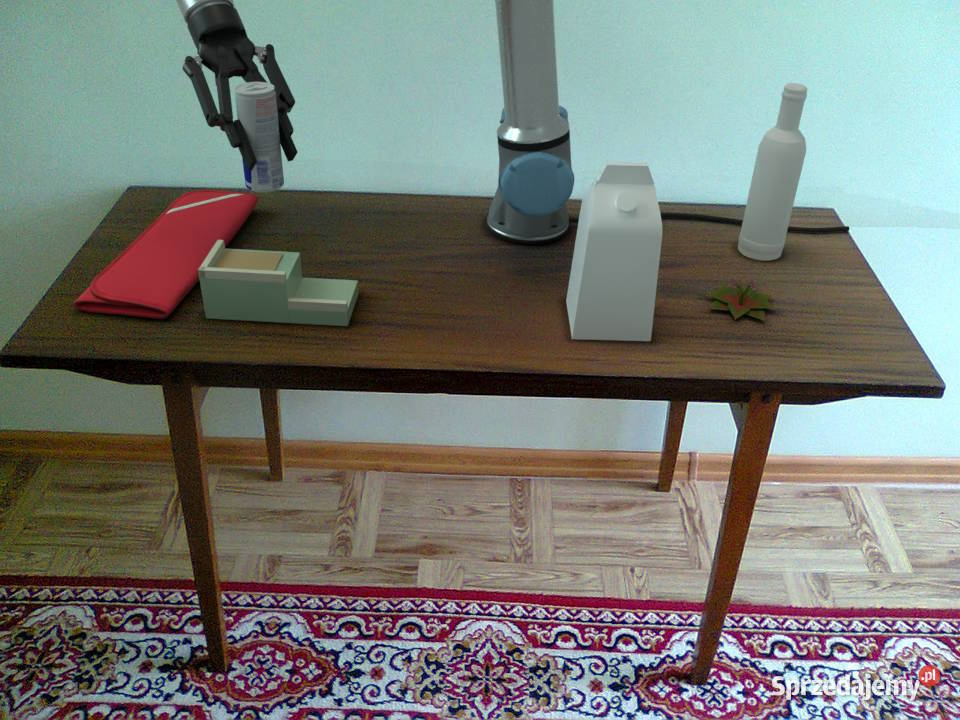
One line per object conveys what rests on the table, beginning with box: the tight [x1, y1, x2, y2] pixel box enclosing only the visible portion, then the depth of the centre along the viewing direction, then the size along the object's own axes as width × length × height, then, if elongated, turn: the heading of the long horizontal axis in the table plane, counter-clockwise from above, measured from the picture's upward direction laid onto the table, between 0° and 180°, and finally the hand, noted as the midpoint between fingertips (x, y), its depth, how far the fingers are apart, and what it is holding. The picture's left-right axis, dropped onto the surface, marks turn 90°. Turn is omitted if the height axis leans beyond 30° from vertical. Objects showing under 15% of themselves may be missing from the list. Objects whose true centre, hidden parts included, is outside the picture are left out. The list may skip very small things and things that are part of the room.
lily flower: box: [705, 276, 778, 322], centre depth 148 cm, size 12×12×5 cm
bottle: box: [737, 82, 808, 262], centre depth 157 cm, size 8×8×30 cm
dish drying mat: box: [73, 189, 259, 320], centre depth 156 cm, size 16×41×4 cm, turn 171°
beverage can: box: [234, 82, 285, 194], centre depth 132 cm, size 6×6×15 cm
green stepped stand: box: [198, 240, 360, 327], centre depth 142 cm, size 22×10×8 cm, turn 87°
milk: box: [565, 160, 663, 342], centre depth 137 cm, size 12×12×26 cm
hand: (272, 161), depth 130 cm, fingers closed on beverage can, 6 cm apart
